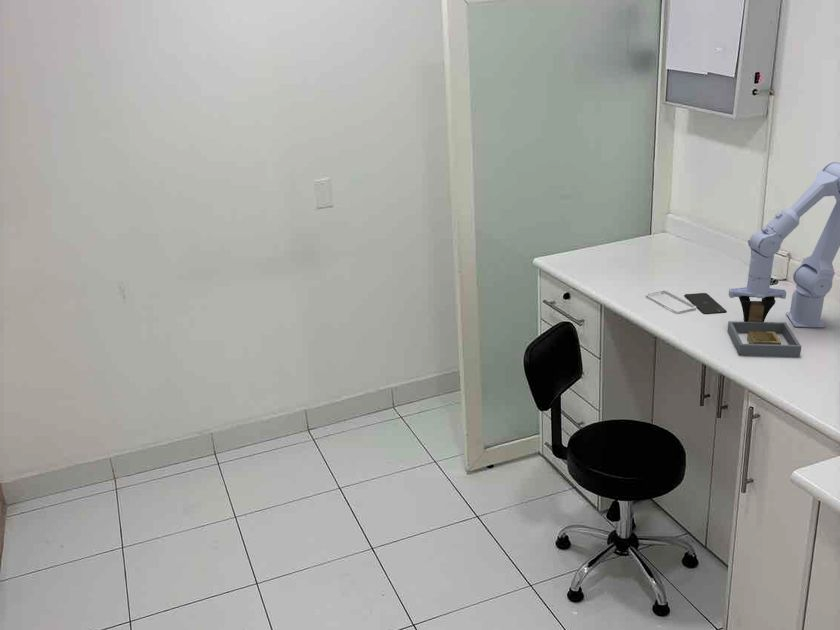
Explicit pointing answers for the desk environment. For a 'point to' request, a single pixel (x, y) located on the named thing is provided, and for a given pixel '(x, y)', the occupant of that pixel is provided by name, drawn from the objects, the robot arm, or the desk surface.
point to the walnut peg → (756, 311)
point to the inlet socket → (763, 338)
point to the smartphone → (705, 303)
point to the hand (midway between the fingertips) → (753, 321)
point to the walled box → (764, 349)
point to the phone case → (675, 298)
